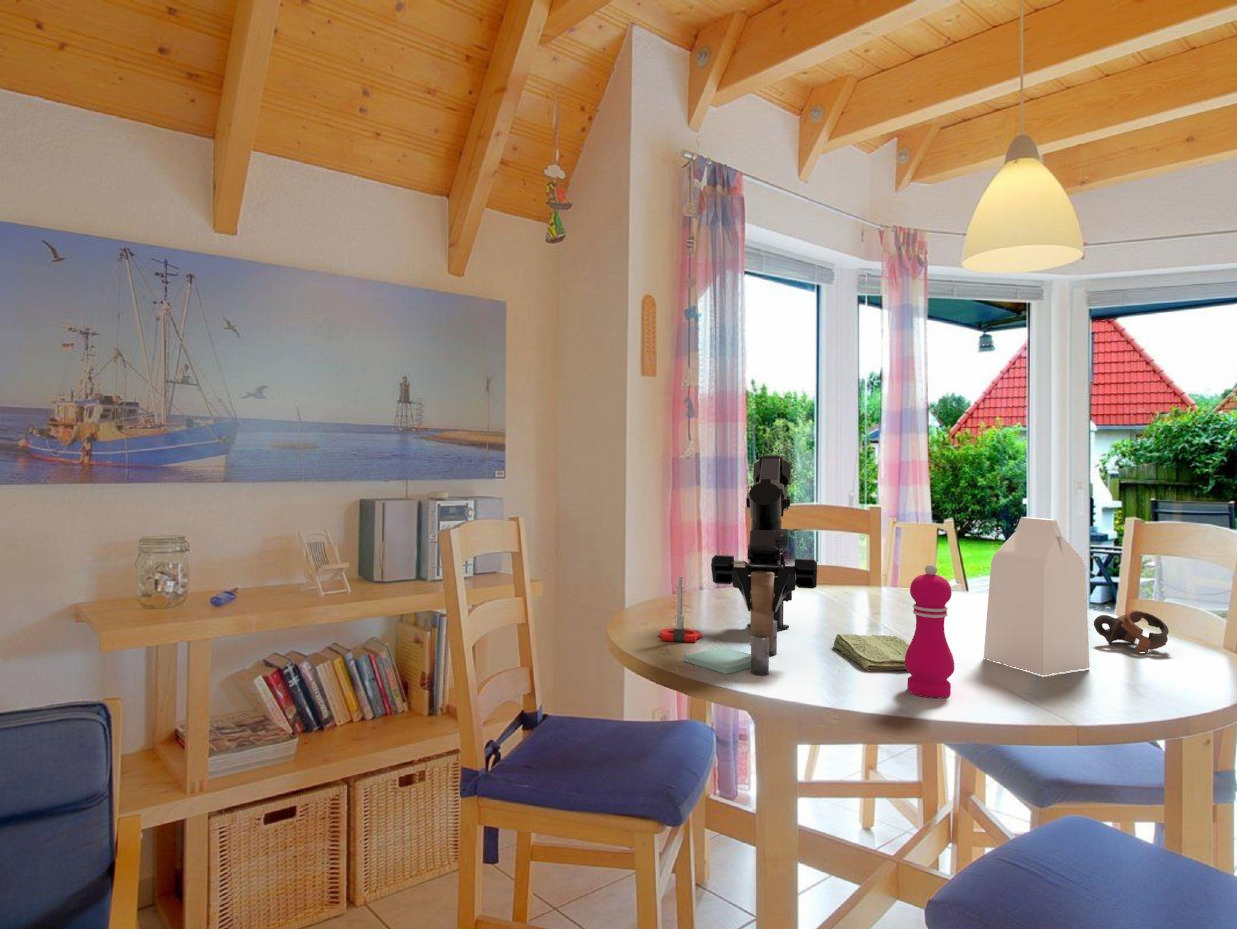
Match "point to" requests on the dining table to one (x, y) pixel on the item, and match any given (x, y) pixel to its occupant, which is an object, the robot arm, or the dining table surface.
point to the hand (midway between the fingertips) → (761, 610)
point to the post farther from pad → (774, 640)
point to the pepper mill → (929, 637)
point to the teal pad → (720, 659)
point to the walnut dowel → (762, 605)
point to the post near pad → (759, 655)
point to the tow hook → (680, 623)
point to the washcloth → (873, 650)
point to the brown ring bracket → (1132, 630)
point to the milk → (1037, 602)
